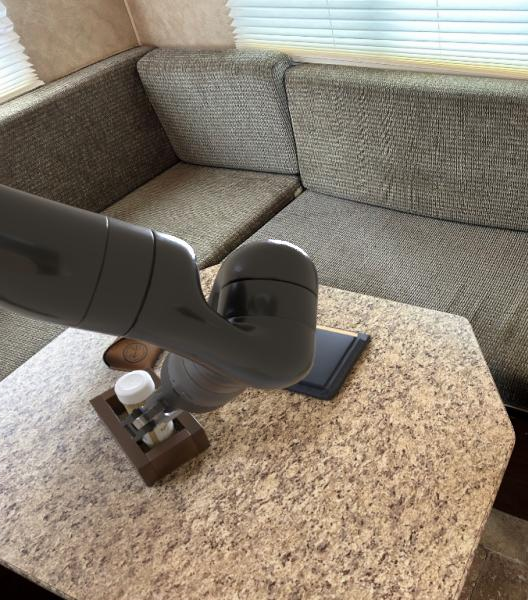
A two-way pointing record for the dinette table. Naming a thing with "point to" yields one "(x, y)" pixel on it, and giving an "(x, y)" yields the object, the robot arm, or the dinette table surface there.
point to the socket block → (155, 460)
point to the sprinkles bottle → (142, 403)
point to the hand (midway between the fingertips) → (175, 398)
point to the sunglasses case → (131, 355)
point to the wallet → (331, 362)
